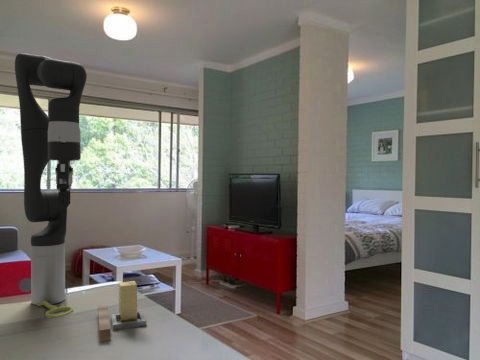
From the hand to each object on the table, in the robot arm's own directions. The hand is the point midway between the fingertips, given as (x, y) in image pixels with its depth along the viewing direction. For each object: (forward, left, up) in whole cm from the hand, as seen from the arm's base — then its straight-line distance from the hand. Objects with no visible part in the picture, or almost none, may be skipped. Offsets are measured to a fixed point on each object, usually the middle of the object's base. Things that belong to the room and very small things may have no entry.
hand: (64, 206), depth 101 cm
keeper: (+3, +15, -30) cm, 34 cm away
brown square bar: (+4, +9, -30) cm, 32 cm away
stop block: (+3, +15, -30) cm, 34 cm away
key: (-14, -4, -31) cm, 34 cm away
